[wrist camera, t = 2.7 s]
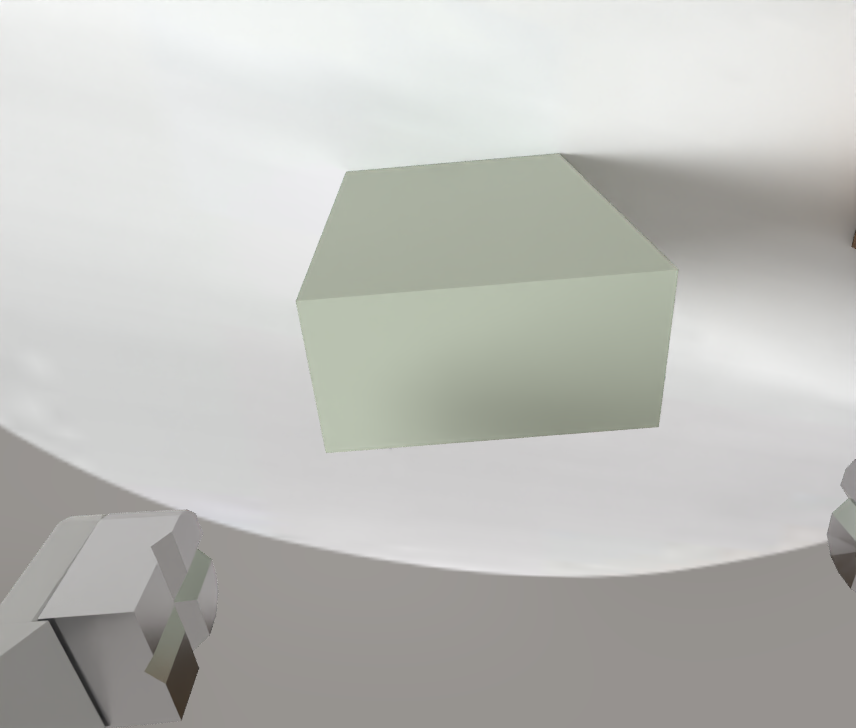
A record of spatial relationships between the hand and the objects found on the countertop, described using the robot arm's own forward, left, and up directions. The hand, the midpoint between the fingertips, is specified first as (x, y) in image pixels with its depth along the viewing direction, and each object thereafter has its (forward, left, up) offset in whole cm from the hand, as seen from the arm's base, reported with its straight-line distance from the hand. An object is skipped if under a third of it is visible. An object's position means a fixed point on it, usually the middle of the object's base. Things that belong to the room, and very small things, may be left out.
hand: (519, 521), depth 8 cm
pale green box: (0, 0, -12) cm, 12 cm away
